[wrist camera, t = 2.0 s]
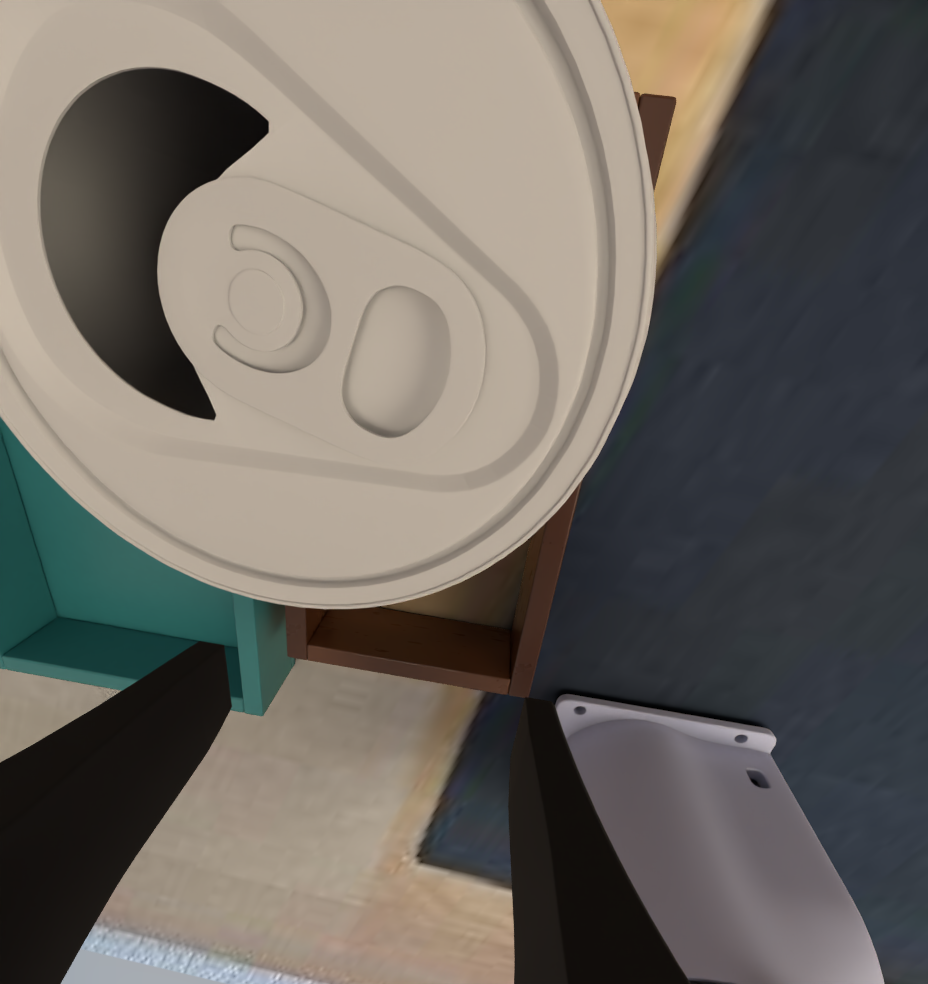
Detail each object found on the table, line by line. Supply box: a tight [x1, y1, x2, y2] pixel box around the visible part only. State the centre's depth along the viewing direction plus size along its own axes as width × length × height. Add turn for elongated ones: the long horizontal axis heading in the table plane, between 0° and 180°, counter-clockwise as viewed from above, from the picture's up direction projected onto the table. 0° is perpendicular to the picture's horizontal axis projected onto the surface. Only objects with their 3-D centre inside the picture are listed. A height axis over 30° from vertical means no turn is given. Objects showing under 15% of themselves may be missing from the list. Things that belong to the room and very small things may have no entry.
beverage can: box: [0, 0, 657, 609], centre depth 9 cm, size 6×6×12 cm
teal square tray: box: [0, 417, 295, 716], centre depth 18 cm, size 12×13×3 cm
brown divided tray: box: [285, 92, 676, 698], centre depth 15 cm, size 9×18×3 cm, turn 173°
